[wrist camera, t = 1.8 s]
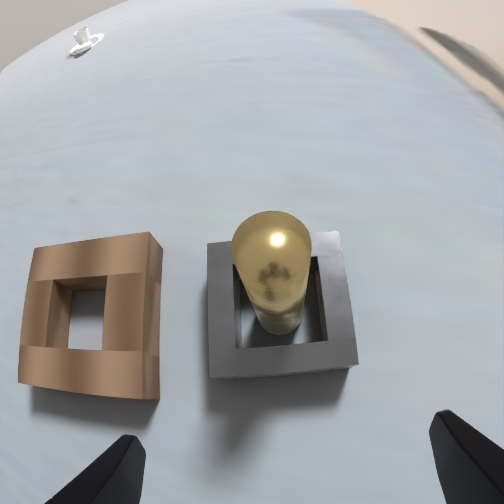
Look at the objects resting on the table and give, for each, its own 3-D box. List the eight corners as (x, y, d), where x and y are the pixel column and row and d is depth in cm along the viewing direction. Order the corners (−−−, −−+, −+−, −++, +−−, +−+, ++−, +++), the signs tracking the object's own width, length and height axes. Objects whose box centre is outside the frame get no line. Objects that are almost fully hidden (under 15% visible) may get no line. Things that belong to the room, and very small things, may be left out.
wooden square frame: (40, 386, 22) (17, 382, 19) (53, 261, 27) (34, 248, 24) (159, 399, 21) (142, 399, 18) (163, 248, 26) (149, 231, 23)
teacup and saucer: (89, 54, 46) (82, 38, 43) (61, 62, 48) (54, 48, 44) (111, 32, 50) (105, 17, 46) (83, 39, 51) (77, 26, 48)
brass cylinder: (258, 336, 22) (232, 287, 12) (256, 293, 24) (230, 215, 14) (304, 332, 22) (316, 279, 12) (300, 289, 23) (306, 207, 13)
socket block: (219, 379, 21) (209, 377, 18) (216, 260, 25) (207, 243, 22) (349, 367, 20) (358, 364, 18) (333, 249, 24) (338, 230, 22)
